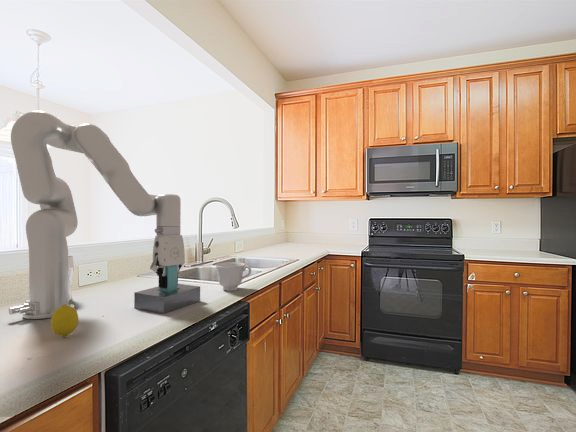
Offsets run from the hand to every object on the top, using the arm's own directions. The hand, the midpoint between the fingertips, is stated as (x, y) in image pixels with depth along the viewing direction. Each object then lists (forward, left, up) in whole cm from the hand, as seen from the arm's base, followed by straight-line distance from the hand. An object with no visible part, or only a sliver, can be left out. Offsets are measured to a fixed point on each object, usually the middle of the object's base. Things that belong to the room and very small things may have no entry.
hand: (168, 285), depth 107 cm
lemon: (-32, +1, -6) cm, 33 cm away
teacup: (+27, -7, -6) cm, 29 cm away
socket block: (0, 0, -6) cm, 6 cm away
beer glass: (-13, +37, -6) cm, 40 cm away
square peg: (0, 0, -3) cm, 3 cm away
